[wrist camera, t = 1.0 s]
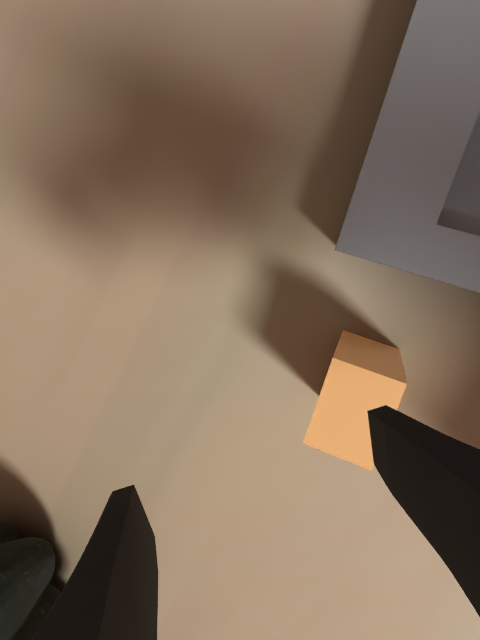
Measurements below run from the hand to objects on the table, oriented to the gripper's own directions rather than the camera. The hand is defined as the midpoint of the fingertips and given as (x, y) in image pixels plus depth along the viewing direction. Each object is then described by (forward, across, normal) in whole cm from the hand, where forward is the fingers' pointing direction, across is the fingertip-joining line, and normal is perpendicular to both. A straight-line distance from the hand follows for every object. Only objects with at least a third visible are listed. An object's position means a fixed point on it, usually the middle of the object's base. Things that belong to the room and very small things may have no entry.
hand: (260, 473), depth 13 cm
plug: (+9, -7, +4) cm, 12 cm away
